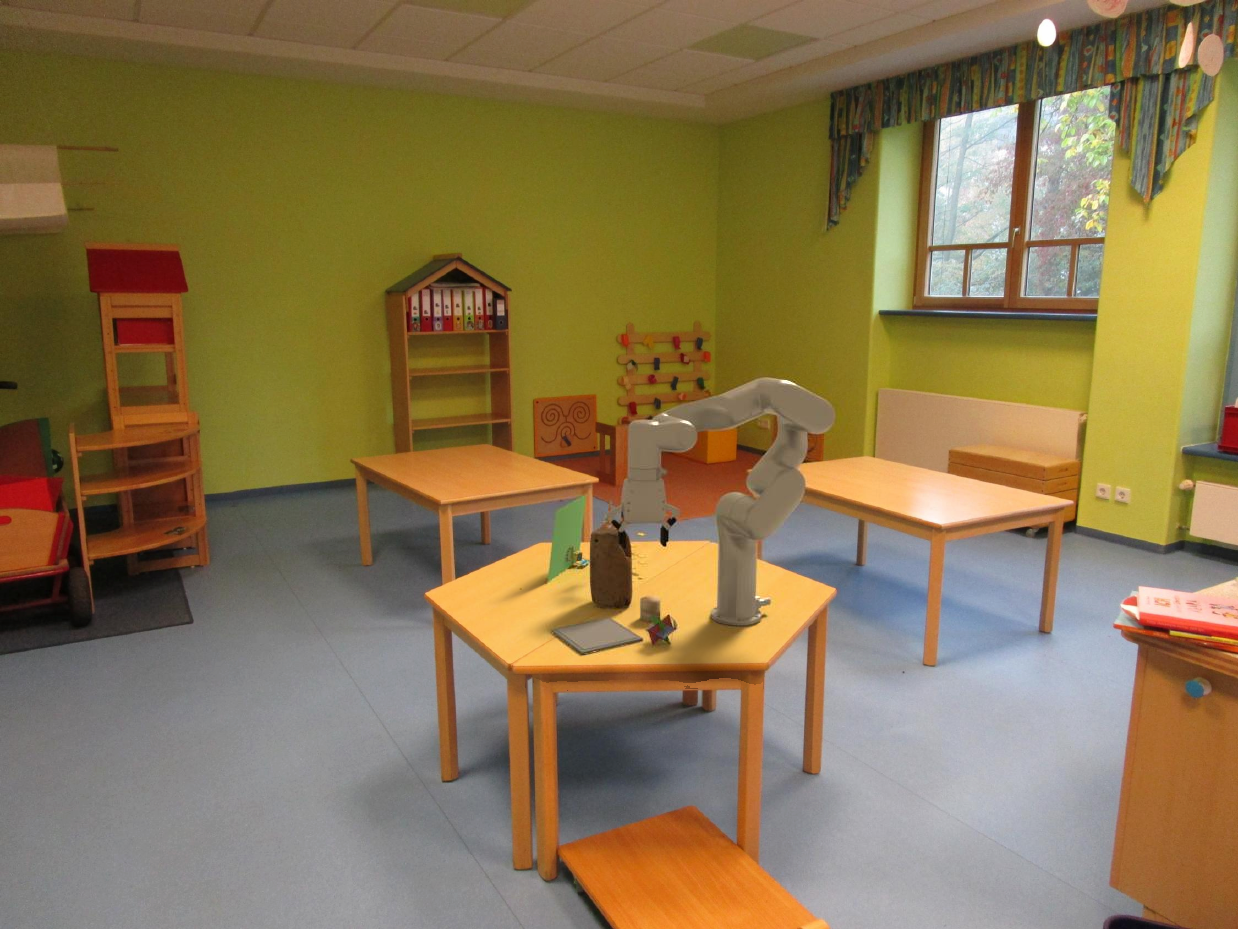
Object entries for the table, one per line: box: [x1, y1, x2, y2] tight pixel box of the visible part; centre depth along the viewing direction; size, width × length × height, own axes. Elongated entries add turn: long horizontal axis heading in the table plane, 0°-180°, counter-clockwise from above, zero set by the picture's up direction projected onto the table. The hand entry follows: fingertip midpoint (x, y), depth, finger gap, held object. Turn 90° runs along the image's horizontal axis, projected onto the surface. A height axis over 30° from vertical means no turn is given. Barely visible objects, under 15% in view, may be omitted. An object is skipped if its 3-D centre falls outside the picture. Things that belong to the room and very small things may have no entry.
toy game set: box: [546, 493, 647, 584], centre depth 249 cm, size 22×25×24 cm
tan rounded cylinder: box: [639, 595, 662, 624], centre depth 218 cm, size 5×5×5 cm
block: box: [589, 527, 633, 609], centre depth 227 cm, size 11×8×20 cm
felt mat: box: [550, 616, 644, 655], centre depth 208 cm, size 16×16×1 cm
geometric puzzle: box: [645, 614, 678, 646], centre depth 203 cm, size 7×7×8 cm
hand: (643, 546), depth 205 cm, fingers open, 9 cm apart
